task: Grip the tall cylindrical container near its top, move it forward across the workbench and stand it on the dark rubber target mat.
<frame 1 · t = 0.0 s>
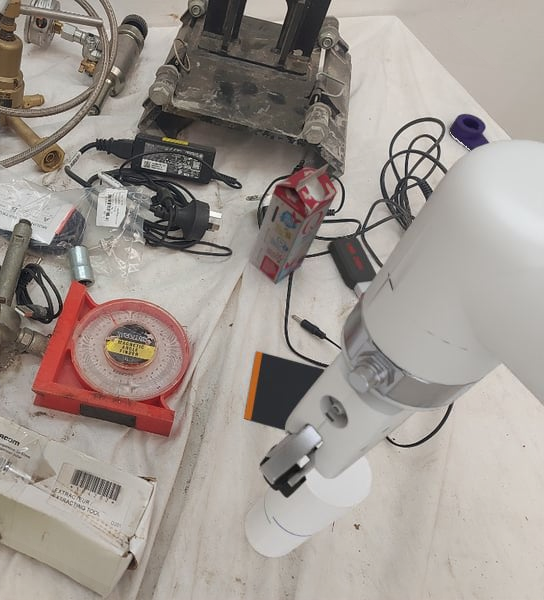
hand: (317, 446, 47), 35 cm above the table, tool pointing down, fingers open, 9 cm apart
target mat: (288, 394, 89), on the table
juice carton: (274, 264, 104), on the table
cylindrical container: (270, 529, 78), on the table
usb drive: (352, 271, 104), on the table
lever: (471, 143, 127), on the table
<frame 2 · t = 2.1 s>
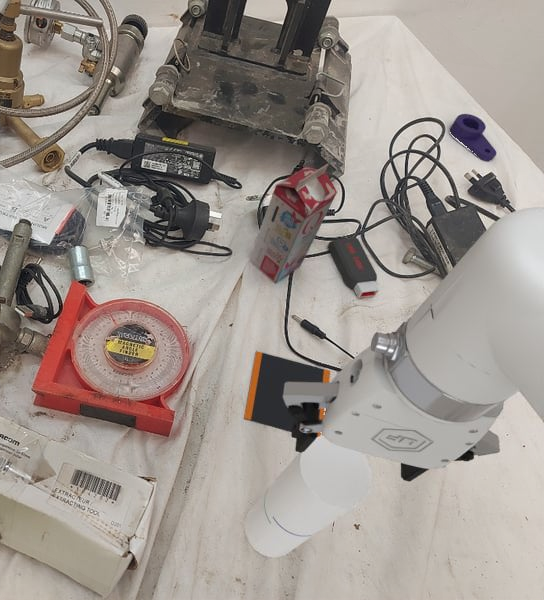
hand: (351, 450, 53), 30 cm above the table, tool pointing down, fingers open, 9 cm apart
nothing on the table moved.
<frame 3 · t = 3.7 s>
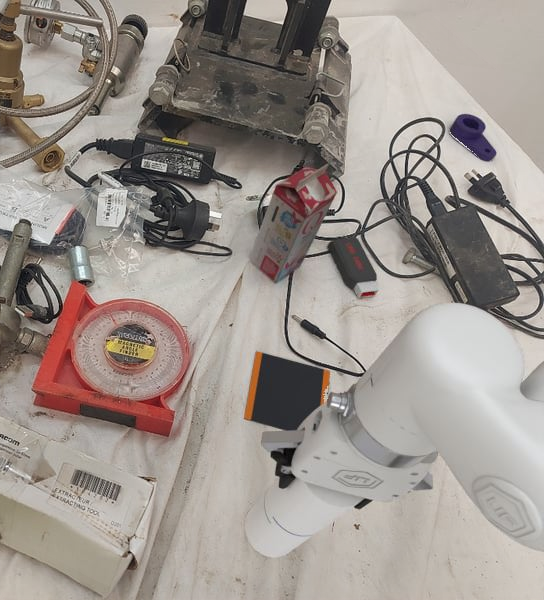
hand: (319, 484, 61), 20 cm above the table, tool pointing down, fingers closed on cylindrical container, 7 cm apart
cylindrical container: (270, 529, 78), on the table, touching gripper
everything else where it was.
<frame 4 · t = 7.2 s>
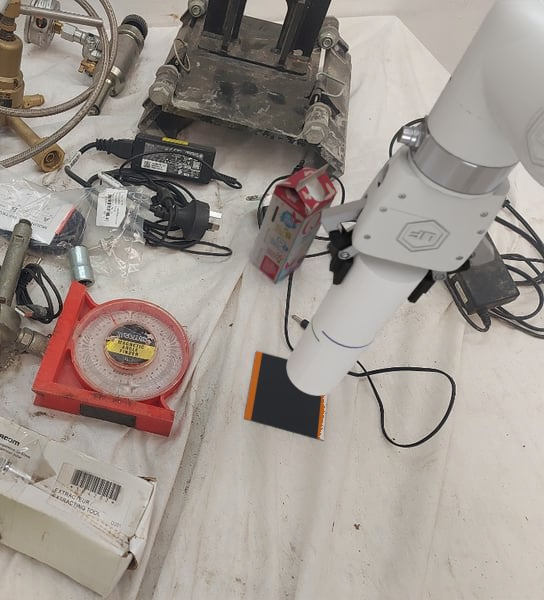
hand: (373, 282, 61), 33 cm above the table, tool pointing down, fingers closed on cylindrical container, 7 cm apart
cylindrical container: (312, 371, 77), point 12 cm above the table, touching gripper
everything else where it was.
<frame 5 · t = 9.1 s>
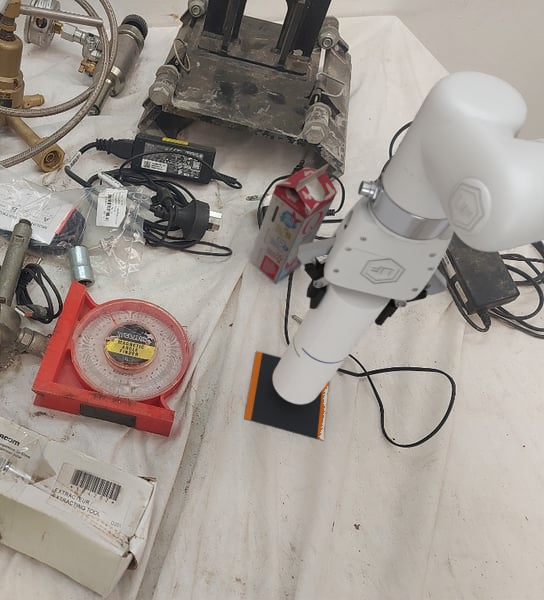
hand: (345, 306, 69), 24 cm above the table, tool pointing down, fingers closed on cylindrical container, 7 cm apart
cylindrical container: (295, 382, 86), point 4 cm above the table, touching gripper
everything else where it was.
when the fingers open (20 cm above the table, at t = 10.6 s): cylindrical container stays where it is, resting on target mat.
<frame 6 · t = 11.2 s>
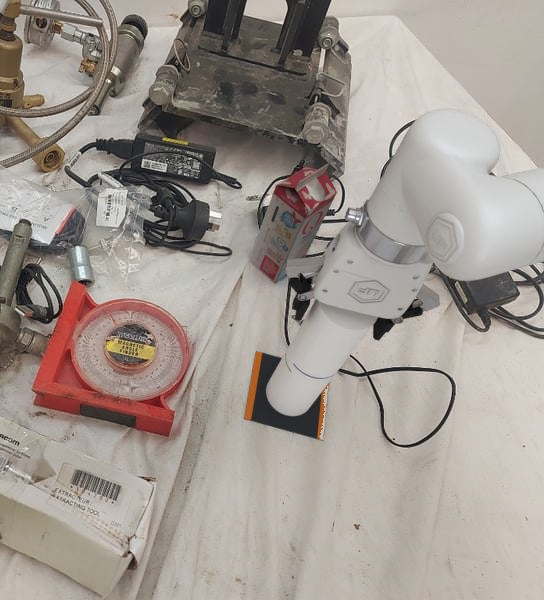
hand: (336, 320, 71), 21 cm above the table, tool pointing down, fingers open, 9 cm apart
cylindrical container: (288, 394, 89), resting on target mat
everything else where it was.
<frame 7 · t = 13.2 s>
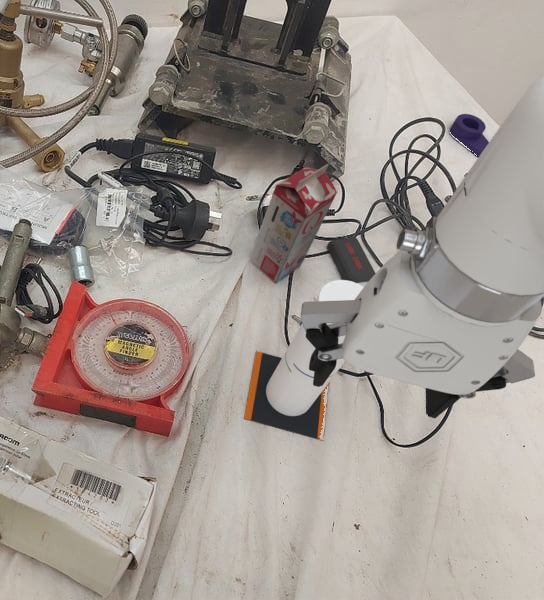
hand: (373, 386, 50), 36 cm above the table, tool pointing down, fingers open, 9 cm apart
nothing on the table moved.
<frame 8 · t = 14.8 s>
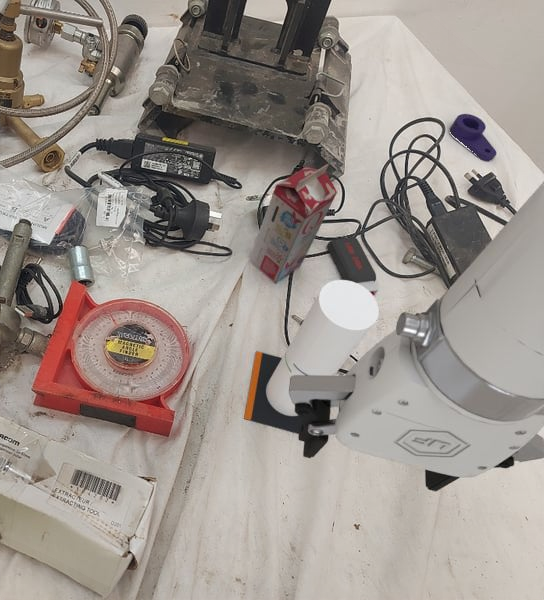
hand: (368, 455, 46), 36 cm above the table, tool pointing down, fingers open, 9 cm apart
nothing on the table moved.
at the end: cylindrical container inside the target area on the target mat (0.1 cm from its centre), point 0.0 cm above the target mat's base; cylindrical container tilted 0°; cylindrical container moved 20.5 cm from its start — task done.
